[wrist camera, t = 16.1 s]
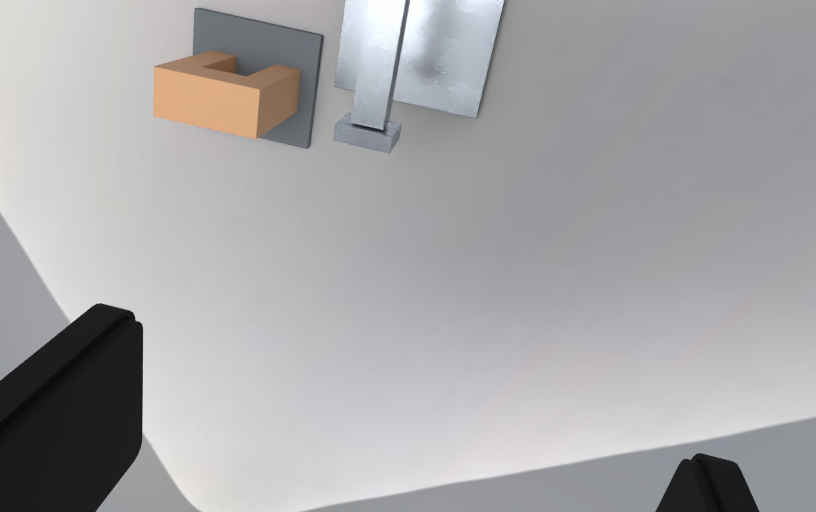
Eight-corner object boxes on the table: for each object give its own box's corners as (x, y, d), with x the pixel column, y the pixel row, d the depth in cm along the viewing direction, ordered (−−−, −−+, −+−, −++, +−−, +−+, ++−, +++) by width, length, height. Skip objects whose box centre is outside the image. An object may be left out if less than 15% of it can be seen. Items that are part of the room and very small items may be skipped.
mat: (323, 35, 44) (321, 36, 43) (309, 146, 47) (307, 148, 47) (198, 7, 44) (194, 8, 44) (193, 120, 48) (190, 121, 47)
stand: (522, -77, 39) (526, -99, 25) (476, 114, 44) (460, 182, 31) (365, -109, 40) (285, -149, 26) (338, 83, 45) (260, 136, 31)
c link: (301, 69, 44) (259, 89, 37) (296, 111, 46) (256, 139, 38) (211, 50, 45) (153, 66, 38) (210, 92, 46) (153, 116, 39)
